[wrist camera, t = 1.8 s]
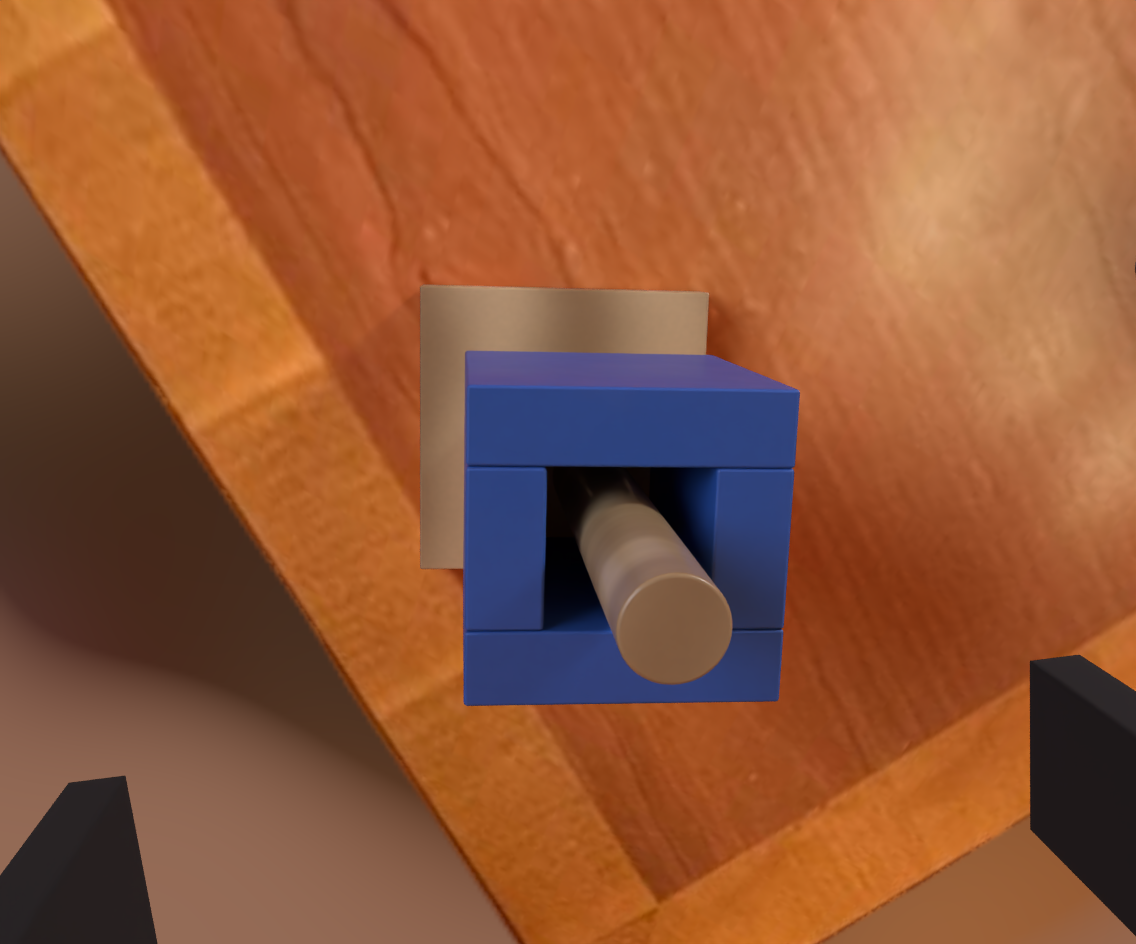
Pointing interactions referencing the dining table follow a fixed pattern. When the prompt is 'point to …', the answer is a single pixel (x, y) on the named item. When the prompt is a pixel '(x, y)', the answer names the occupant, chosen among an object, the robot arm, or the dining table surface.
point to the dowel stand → (576, 494)
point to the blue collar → (677, 489)
